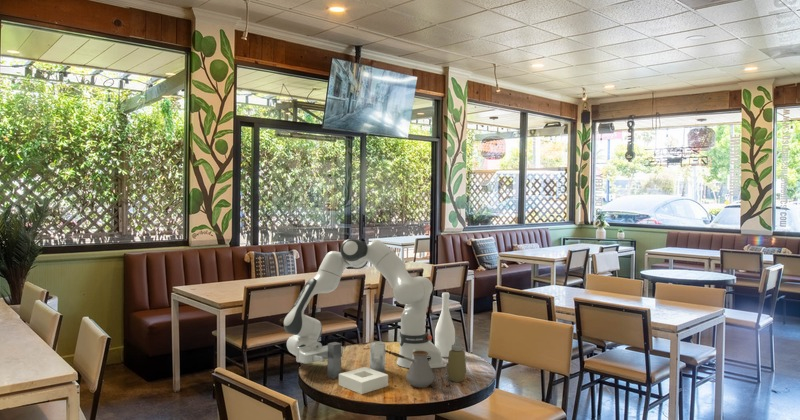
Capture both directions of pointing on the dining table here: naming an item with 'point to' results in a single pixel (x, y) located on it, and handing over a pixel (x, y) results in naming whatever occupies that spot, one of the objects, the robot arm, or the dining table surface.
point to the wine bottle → (445, 328)
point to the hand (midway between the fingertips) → (332, 357)
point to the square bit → (334, 360)
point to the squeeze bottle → (456, 362)
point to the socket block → (363, 380)
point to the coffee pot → (418, 369)
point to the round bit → (377, 356)
